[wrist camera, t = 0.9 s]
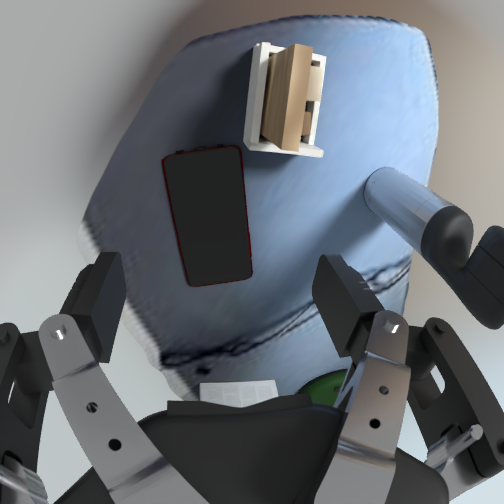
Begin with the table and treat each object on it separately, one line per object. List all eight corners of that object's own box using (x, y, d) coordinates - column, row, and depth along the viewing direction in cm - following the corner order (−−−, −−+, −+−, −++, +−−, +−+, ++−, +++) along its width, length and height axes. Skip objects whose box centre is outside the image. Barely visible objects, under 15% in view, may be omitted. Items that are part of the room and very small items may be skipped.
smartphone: (241, 142, 40) (254, 279, 53) (240, 141, 41) (252, 274, 55) (159, 154, 39) (188, 288, 52) (161, 152, 40) (189, 283, 54)
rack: (318, 58, 35) (338, 54, 29) (305, 147, 43) (322, 157, 37) (253, 46, 33) (262, 38, 27) (243, 141, 41) (249, 150, 35)
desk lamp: (297, 365, 72) (345, 519, 35) (371, 344, 74) (437, 477, 36) (296, 411, 89) (327, 522, 51) (354, 394, 91) (395, 497, 53)
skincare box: (199, 391, 73) (202, 440, 60) (199, 381, 71) (202, 433, 57) (271, 388, 77) (282, 435, 64) (275, 379, 75) (287, 427, 61)
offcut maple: (314, 68, 33) (322, 67, 31) (312, 100, 36) (320, 101, 33) (291, 65, 33) (298, 64, 30) (290, 98, 36) (296, 99, 33)
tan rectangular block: (275, 62, 35) (313, 47, 21) (266, 130, 40) (298, 151, 27) (263, 60, 34) (295, 43, 21) (254, 129, 40) (281, 149, 27)
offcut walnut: (301, 110, 39) (310, 112, 36) (301, 131, 41) (310, 135, 38) (280, 110, 39) (287, 111, 36) (280, 131, 41) (287, 135, 37)
